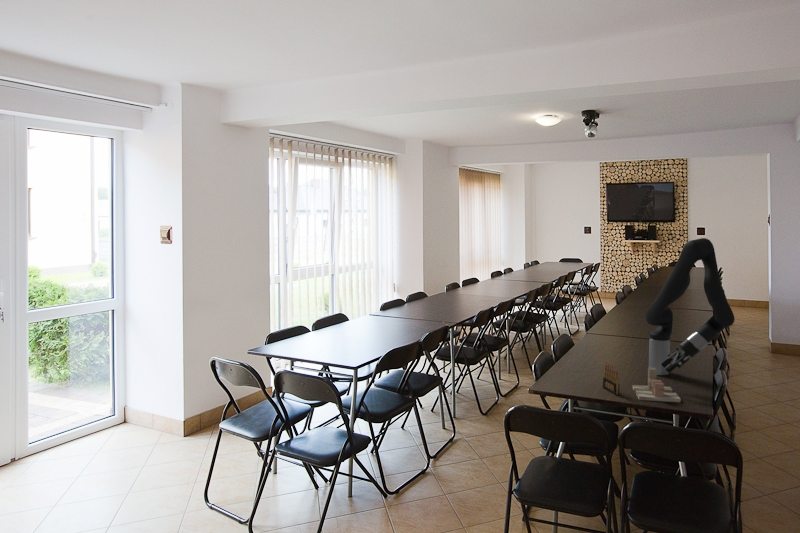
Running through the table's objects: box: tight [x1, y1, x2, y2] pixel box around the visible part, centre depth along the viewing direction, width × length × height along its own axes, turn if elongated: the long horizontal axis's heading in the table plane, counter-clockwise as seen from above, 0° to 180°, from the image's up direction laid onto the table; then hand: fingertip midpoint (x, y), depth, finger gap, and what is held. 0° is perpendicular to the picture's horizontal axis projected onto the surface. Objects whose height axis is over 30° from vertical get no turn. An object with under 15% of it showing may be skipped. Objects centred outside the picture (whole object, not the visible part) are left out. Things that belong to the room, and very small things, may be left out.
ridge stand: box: [635, 379, 682, 403], centre depth 234 cm, size 8×16×7 cm, turn 77°
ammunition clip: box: [602, 362, 620, 396], centre depth 244 cm, size 11×2×12 cm, turn 9°
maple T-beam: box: [631, 367, 674, 393], centre depth 245 cm, size 4×16×10 cm, turn 77°
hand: (664, 368), depth 243 cm, fingers open, 8 cm apart
